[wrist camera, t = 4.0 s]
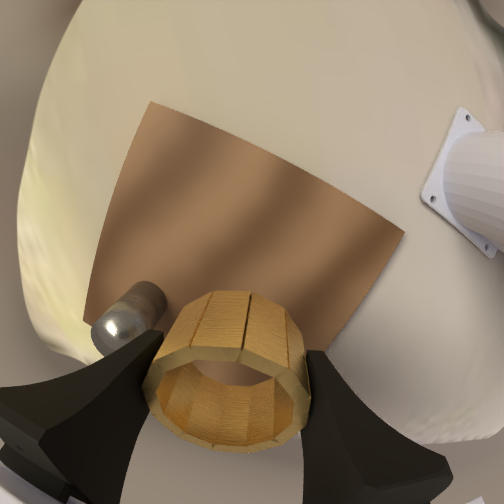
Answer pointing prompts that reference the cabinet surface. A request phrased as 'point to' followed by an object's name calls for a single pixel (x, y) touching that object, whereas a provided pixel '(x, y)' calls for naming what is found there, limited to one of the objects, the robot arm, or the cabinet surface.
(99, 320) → the steel piston
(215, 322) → the wooden barrel ring
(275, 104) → the cabinet surface
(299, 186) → the walnut board
